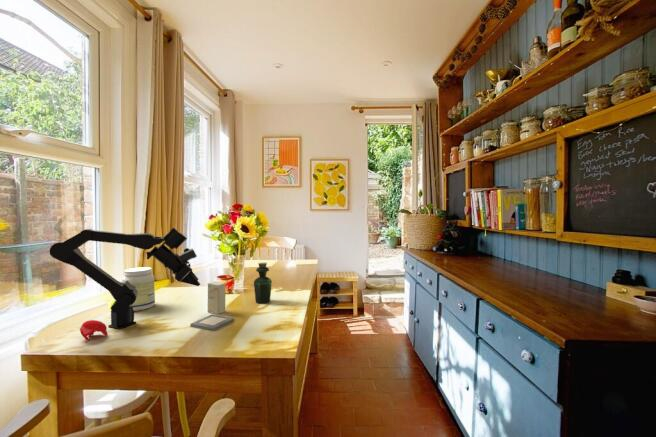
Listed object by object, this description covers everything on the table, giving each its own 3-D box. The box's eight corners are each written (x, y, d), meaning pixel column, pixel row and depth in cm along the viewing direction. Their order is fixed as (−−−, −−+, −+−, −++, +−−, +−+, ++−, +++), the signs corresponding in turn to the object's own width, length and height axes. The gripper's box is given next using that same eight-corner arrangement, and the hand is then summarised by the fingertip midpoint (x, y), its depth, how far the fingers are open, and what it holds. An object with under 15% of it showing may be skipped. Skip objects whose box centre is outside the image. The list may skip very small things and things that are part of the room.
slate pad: (213, 330, 111) (213, 327, 111) (190, 326, 115) (190, 323, 115) (234, 320, 121) (234, 317, 121) (212, 316, 125) (211, 314, 125)
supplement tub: (161, 303, 143) (160, 266, 142) (142, 312, 131) (141, 272, 130) (136, 302, 144) (135, 266, 143) (115, 311, 132) (114, 271, 131)
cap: (75, 334, 100) (95, 322, 102) (76, 323, 104) (95, 312, 106) (93, 348, 104) (111, 336, 106) (93, 336, 109) (111, 325, 111)
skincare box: (207, 312, 130) (206, 283, 130) (215, 309, 134) (215, 281, 134) (218, 314, 128) (217, 285, 127) (226, 311, 131) (225, 282, 131)
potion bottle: (251, 301, 146) (250, 263, 145) (267, 298, 150) (266, 261, 150) (258, 305, 139) (258, 265, 138) (274, 302, 144) (274, 263, 143)
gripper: (184, 244, 116) (216, 271, 121) (182, 240, 133) (210, 264, 138) (160, 267, 113) (194, 294, 118) (162, 260, 130) (191, 283, 135)
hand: (198, 282), depth 127 cm, fingers open, 9 cm apart
